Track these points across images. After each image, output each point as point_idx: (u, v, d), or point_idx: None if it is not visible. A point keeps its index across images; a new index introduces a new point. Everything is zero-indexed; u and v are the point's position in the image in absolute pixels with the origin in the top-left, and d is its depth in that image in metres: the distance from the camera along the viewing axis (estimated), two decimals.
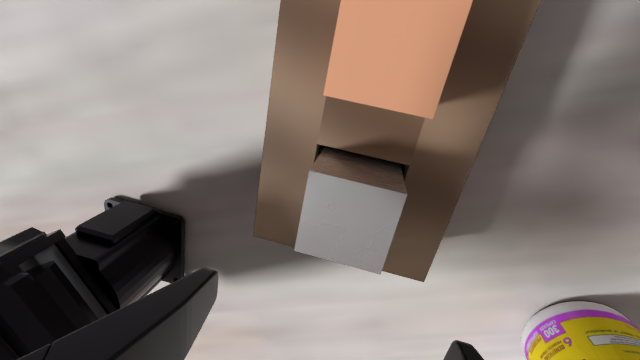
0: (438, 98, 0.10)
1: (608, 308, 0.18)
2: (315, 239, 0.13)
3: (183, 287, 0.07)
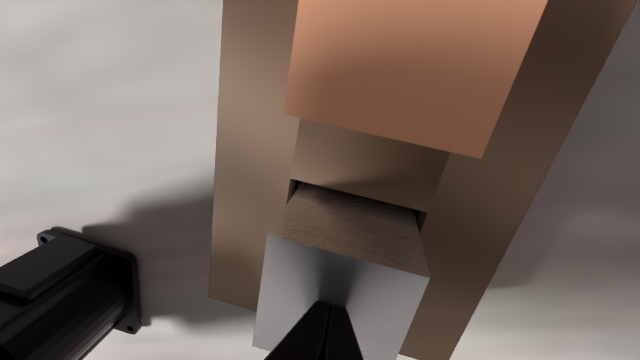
0: (493, 121, 0.05)
1: None
2: (282, 333, 0.08)
3: (312, 325, 0.07)
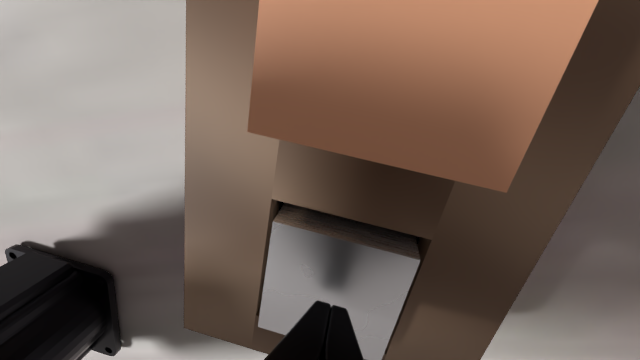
0: (524, 145, 0.04)
1: None
2: (286, 314, 0.09)
3: (312, 325, 0.07)
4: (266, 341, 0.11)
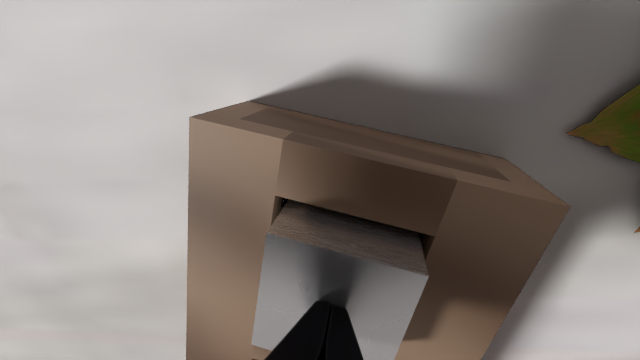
0: None
1: None
2: None
3: (312, 325, 0.07)
4: None
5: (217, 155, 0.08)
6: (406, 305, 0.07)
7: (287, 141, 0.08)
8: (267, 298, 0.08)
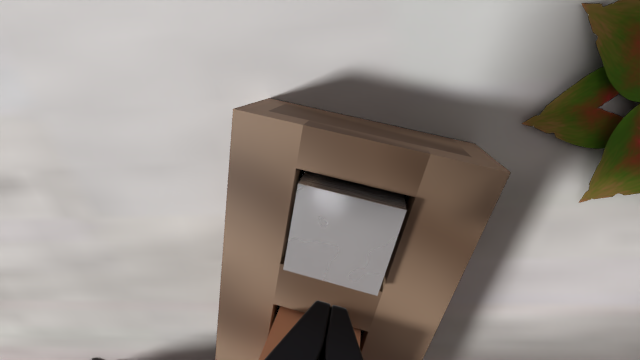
0: None
1: None
2: None
3: (312, 325, 0.07)
4: None
5: (253, 137, 0.11)
6: (391, 232, 0.11)
7: (306, 126, 0.11)
8: (296, 232, 0.12)
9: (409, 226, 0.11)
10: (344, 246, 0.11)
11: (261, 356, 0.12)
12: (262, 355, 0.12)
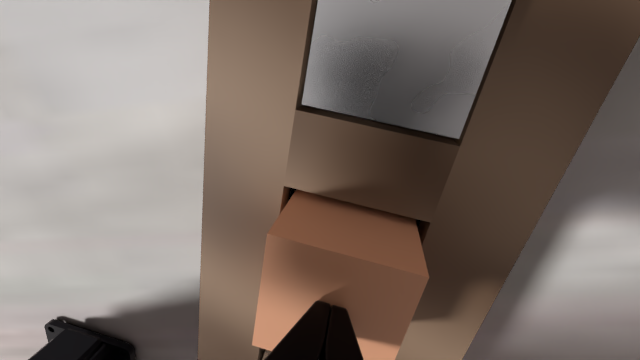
0: None
1: None
2: None
3: (312, 325, 0.07)
4: None
5: None
6: None
7: None
8: (326, 22, 0.07)
9: (521, 4, 0.07)
10: (409, 42, 0.07)
11: (276, 222, 0.08)
12: (277, 222, 0.08)
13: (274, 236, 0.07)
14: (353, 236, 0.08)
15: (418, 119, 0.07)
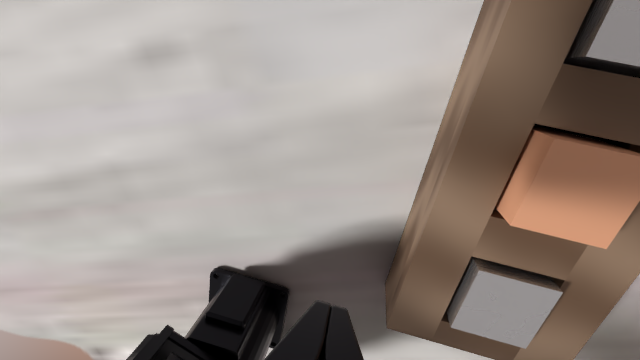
0: (614, 234, 0.12)
1: None
2: (472, 320, 0.16)
3: (312, 325, 0.07)
4: (443, 336, 0.17)
5: None
6: None
7: None
8: None
9: None
10: None
11: (548, 135, 0.12)
12: (548, 135, 0.12)
13: (559, 139, 0.11)
14: (596, 145, 0.12)
15: None
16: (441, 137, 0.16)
